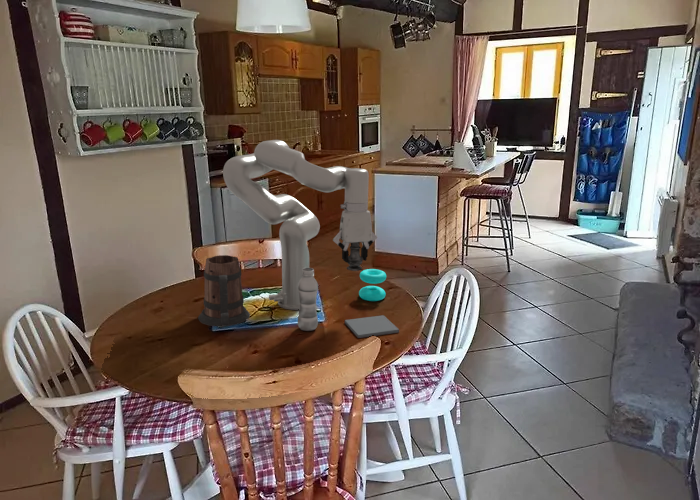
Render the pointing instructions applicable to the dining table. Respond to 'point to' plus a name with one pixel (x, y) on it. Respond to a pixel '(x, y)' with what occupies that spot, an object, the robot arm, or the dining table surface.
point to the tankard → (223, 292)
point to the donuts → (373, 278)
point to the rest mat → (371, 326)
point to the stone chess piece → (355, 258)
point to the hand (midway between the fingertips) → (354, 259)
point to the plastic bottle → (307, 300)
